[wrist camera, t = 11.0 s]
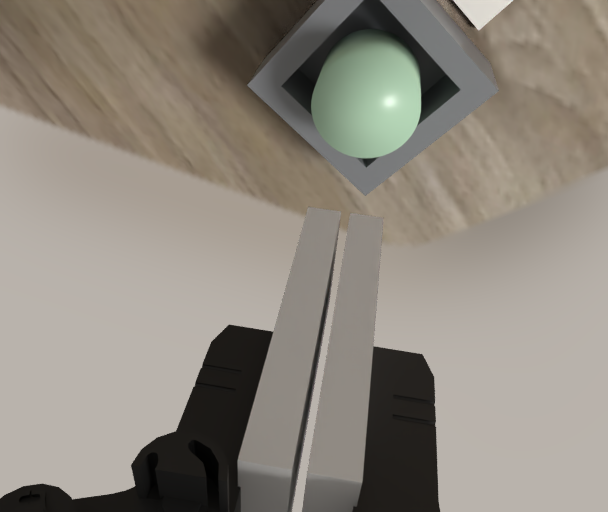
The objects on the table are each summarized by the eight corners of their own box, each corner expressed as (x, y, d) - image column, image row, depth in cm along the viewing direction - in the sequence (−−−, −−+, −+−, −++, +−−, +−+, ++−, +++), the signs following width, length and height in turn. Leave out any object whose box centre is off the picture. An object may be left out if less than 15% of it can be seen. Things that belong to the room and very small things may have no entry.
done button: (301, 78, 23) (288, 106, 21) (372, 5, 21) (367, 28, 19) (367, 143, 25) (363, 177, 22) (441, 81, 23) (444, 111, 20)
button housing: (263, 59, 26) (247, 85, 23) (378, -68, 22) (373, -53, 19) (369, 162, 28) (365, 195, 25) (490, 63, 24) (498, 90, 22)
